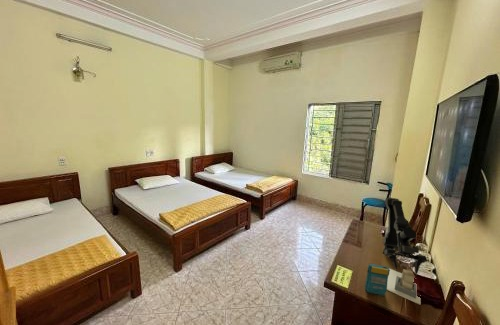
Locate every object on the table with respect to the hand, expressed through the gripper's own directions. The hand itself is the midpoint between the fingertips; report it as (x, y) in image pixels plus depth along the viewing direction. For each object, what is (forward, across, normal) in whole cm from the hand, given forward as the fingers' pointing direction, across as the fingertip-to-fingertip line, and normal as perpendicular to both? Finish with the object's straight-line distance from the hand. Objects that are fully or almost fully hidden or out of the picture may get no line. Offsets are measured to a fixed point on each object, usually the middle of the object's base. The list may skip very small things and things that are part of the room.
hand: (406, 271), depth 114 cm
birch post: (+8, 0, +4) cm, 9 cm away
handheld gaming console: (+14, -16, -2) cm, 22 cm away
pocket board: (+6, 0, +6) cm, 9 cm away
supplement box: (-26, +5, +39) cm, 47 cm away
